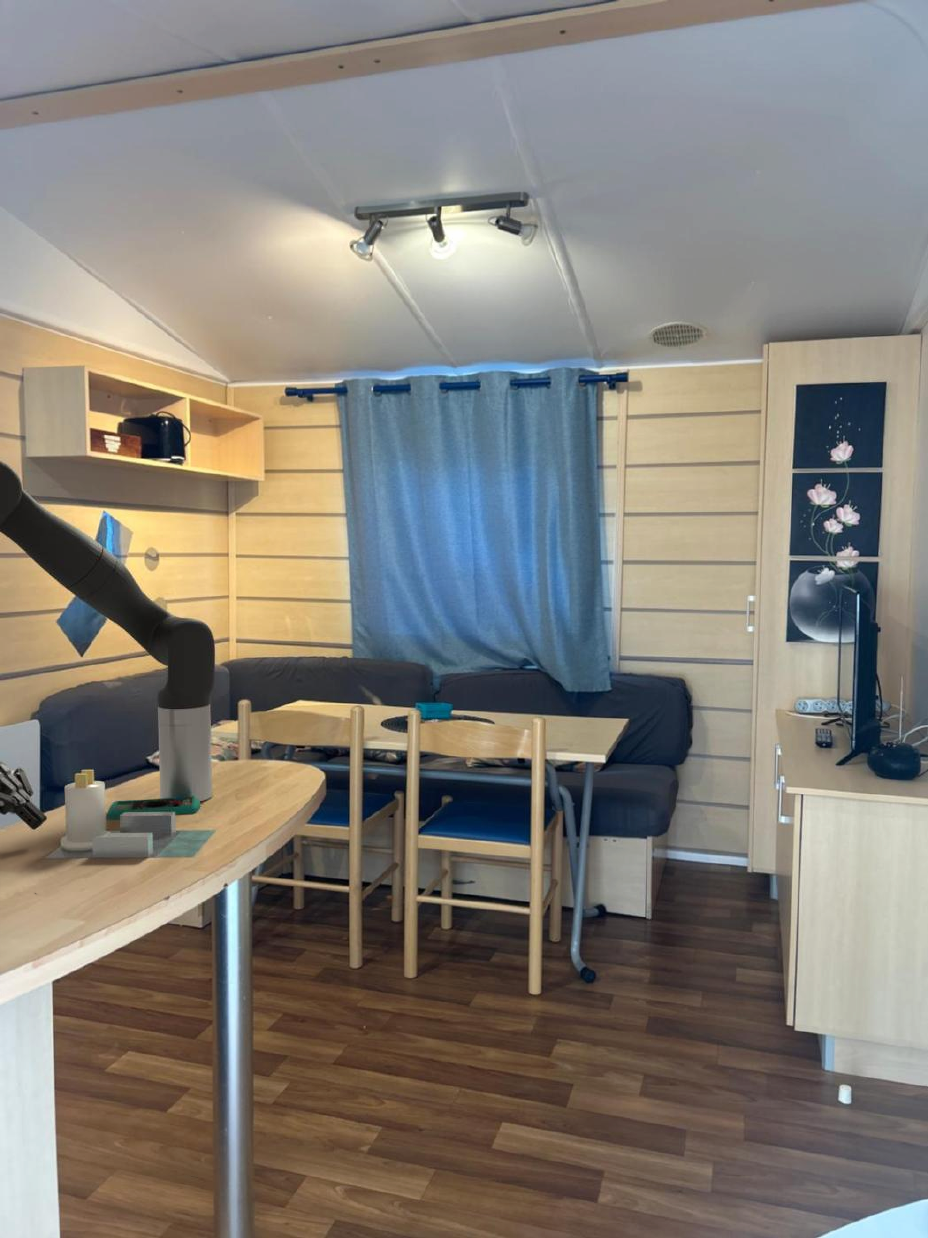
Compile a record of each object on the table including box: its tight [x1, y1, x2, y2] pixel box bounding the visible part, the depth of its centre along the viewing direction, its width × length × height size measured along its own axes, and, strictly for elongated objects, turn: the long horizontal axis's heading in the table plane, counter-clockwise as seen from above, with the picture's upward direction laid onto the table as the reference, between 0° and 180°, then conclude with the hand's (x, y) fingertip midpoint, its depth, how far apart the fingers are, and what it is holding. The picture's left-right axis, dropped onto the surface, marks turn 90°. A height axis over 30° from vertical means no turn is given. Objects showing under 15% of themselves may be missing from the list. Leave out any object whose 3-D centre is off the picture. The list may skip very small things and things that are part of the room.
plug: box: [60, 769, 111, 851], centre depth 139 cm, size 7×7×11 cm
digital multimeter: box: [107, 796, 201, 820], centre depth 158 cm, size 7×15×3 cm, turn 105°
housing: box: [44, 812, 217, 859], centre depth 140 cm, size 13×22×4 cm, turn 91°
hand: (41, 824), depth 139 cm, fingers closed
